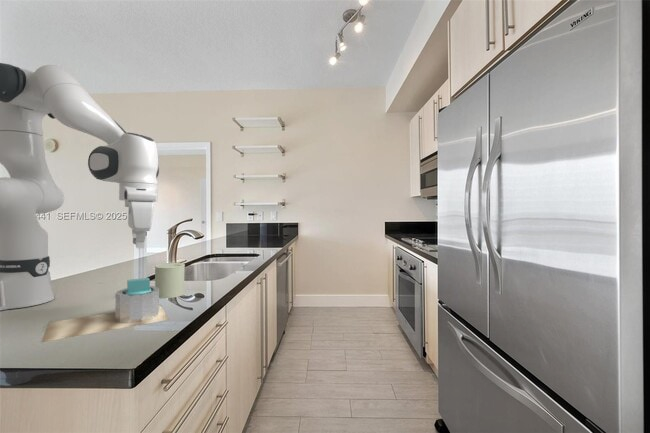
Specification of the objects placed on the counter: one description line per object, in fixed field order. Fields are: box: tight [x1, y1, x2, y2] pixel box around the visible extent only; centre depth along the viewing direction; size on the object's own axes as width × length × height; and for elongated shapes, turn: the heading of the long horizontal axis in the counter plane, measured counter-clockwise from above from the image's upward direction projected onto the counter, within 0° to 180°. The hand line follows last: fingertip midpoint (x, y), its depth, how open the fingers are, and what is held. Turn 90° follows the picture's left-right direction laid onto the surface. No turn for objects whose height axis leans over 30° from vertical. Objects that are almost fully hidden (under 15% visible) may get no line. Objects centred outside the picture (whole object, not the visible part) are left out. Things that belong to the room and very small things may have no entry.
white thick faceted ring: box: [114, 285, 160, 323], centre depth 83 cm, size 10×10×7 cm
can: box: [154, 262, 186, 299], centre depth 104 cm, size 9×9×12 cm
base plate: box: [41, 305, 170, 343], centre depth 79 cm, size 25×14×2 cm, turn 126°
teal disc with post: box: [125, 277, 151, 295], centre depth 83 cm, size 6×6×4 cm
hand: (138, 245), depth 82 cm, fingers open, 8 cm apart
